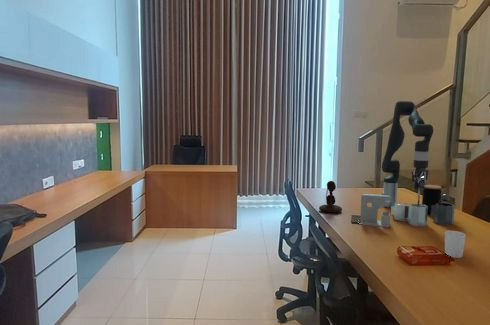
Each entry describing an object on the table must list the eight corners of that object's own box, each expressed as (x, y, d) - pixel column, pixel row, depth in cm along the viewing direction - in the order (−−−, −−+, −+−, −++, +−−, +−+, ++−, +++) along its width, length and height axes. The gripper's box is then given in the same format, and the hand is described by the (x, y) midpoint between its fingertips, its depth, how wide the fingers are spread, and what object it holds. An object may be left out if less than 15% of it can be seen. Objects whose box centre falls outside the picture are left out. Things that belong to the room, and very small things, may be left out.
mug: (407, 218, 218) (408, 204, 217) (407, 221, 211) (408, 206, 210) (391, 216, 222) (391, 202, 221) (390, 219, 215) (391, 205, 214)
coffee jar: (442, 216, 223) (444, 188, 221) (424, 215, 226) (425, 187, 224) (436, 211, 234) (438, 185, 232) (419, 211, 236) (421, 184, 234)
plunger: (410, 208, 204) (412, 180, 202) (414, 206, 208) (416, 179, 207) (421, 210, 200) (423, 181, 198) (425, 208, 204) (427, 180, 202)
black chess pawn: (319, 208, 242) (319, 179, 240) (341, 209, 239) (342, 180, 237) (319, 213, 228) (319, 183, 226) (342, 215, 225) (343, 184, 223)
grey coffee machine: (389, 222, 208) (391, 192, 206) (390, 227, 198) (392, 196, 196) (358, 219, 214) (360, 190, 212) (358, 224, 204) (359, 193, 202)
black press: (428, 221, 210) (429, 193, 208) (433, 219, 216) (435, 191, 214) (450, 226, 202) (452, 196, 200) (454, 222, 208) (456, 194, 206)
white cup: (439, 252, 160) (440, 230, 159) (455, 251, 161) (457, 230, 160) (451, 258, 153) (452, 236, 151) (468, 258, 153) (469, 235, 152)
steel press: (401, 223, 207) (402, 204, 206) (407, 220, 214) (408, 202, 212) (422, 227, 199) (423, 208, 198) (428, 224, 205) (429, 205, 204)
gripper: (420, 160, 194) (419, 190, 196) (434, 159, 202) (432, 188, 204) (407, 159, 200) (406, 188, 202) (421, 158, 208) (419, 186, 210)
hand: (419, 188), depth 203 cm, fingers open, 5 cm apart
